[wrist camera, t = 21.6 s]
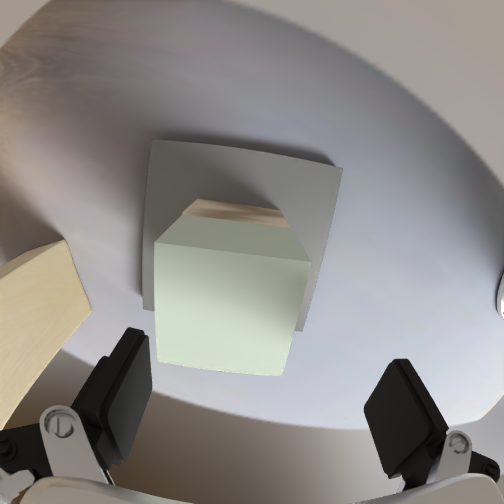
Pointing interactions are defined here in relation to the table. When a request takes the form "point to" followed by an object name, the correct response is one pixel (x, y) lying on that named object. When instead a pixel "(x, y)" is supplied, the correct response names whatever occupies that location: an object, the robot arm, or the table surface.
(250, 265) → the sage block
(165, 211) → the base plate
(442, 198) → the table surface
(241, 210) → the birch block
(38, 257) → the toy refrigerator
